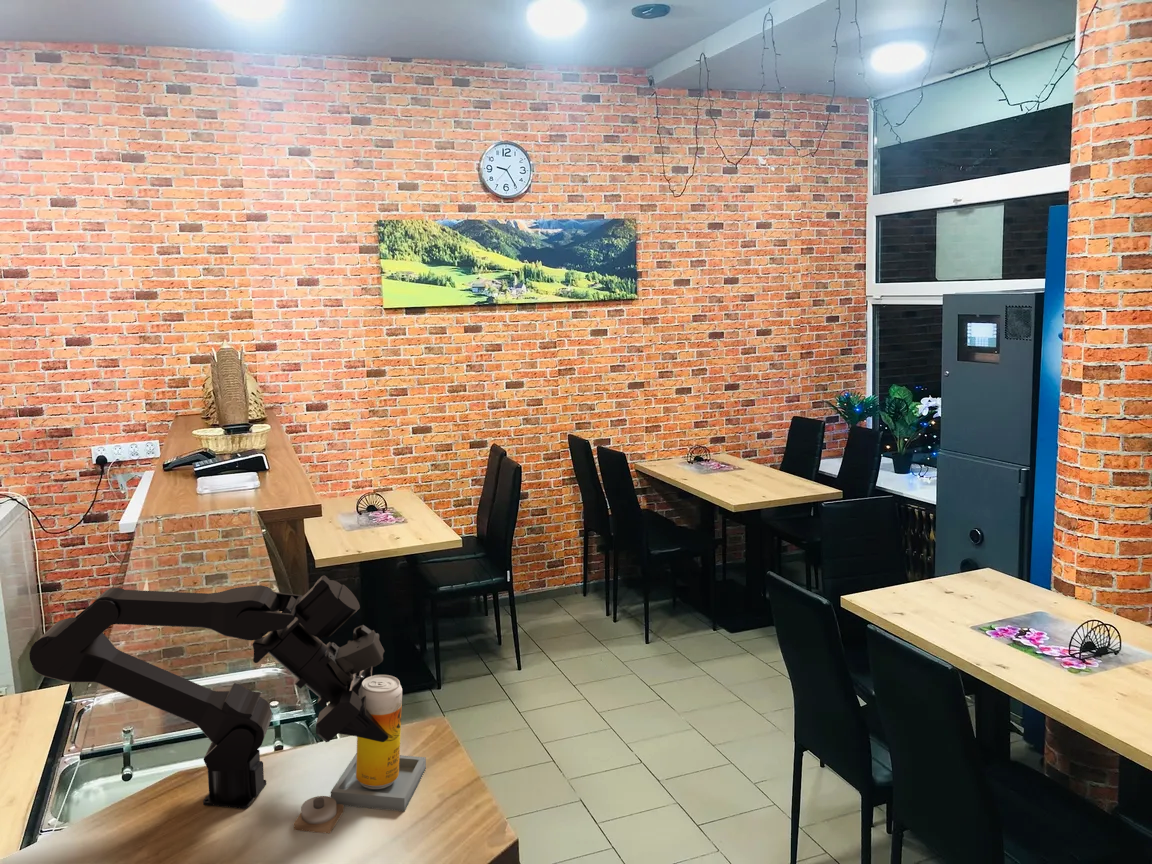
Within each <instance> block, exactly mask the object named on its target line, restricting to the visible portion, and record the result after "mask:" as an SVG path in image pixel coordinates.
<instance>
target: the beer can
mask: <svg viewBox="0 0 1152 864" xmlns="http://www.w3.org/2000/svg"><path fill="white" fill-rule="evenodd" d="M402 687H403V686H402V685H401V682H400V680H399V679H398V677H395V676H393V675H391V674H390V675H389V674H374V675H372V676H370V677H368V678H366V679H364V680H363V682H362V685H361V687H360V689H359V698H360V700H361V699H362V698H363V697H364V696H366V709H367V711H368V712H369V713H370V714H371V715H372V717H373V718H374V719H375V720H376V721H377V722H378V723H379V725H380V726H381V727H382V728H383V729H384V731H385V732H386V733H387V734H388V739H387V740H386V741H385V742H379V741H375V740H370V739H366V738H362V737H357V736H356V753H357V756H356V778H357V780H358V781H359V782H360V784H361V785H362V786H364V787H366V788H369V789H382V788H386V787H388V786H390V785H391V784H392V783H393V782H394V780H396V779H397V777H398V775H399V756H400V755H401V754H400V752H401V734H402V733H401V732H402V731H401V730H402V726H401V725H402V707H403V706H402V704H403V688H402Z"/></svg>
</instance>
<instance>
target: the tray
mask: <svg viewBox="0 0 1152 864" xmlns="http://www.w3.org/2000/svg"><path fill="white" fill-rule="evenodd" d="M356 756H357V752H356V753H355V754H354V756H353V757H352V759H351V761H349V763H348V765H347V767H346V768H345V769H344V771H343V773H342V775H341V776H340V777H339V778H338V780H337V782H336V783H335V784H334V785H333V788H332V789H331V791H330V797H331V798H333V799H334V800H335V801H336V804H342V805H344V807H350V808H351V807H353V808H365V809H374V810H375V809H376V810H387V811H396V812H397V811H398V812H399V811H400V812H406V810H407V808H408V806H409V804H410V802H411V800H412V797H414V793H415V792H416V790H417V788H418V786H419V784H420V781H421V780H422V778H423V776H424V774H425V772H426V770H425V769H427V763H426V762H427V758H426V757H425V756H415V755H414V756H413V755H405V754H404V755H403V754H400V756H399V775H398V777H397V779H396V780H394V782H393V783H392V784H391V785H390V786H388V787H386V788H382V789H369V788H366V787H364V786H362V785H361V784H360V782H359V781H358V780H357V778H356ZM424 771H425V772H424ZM423 773H424V774H423ZM422 775H423V776H422ZM421 777H422V778H421ZM420 779H421V780H420Z"/></svg>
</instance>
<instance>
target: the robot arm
mask: <svg viewBox="0 0 1152 864" xmlns="http://www.w3.org/2000/svg"><path fill="white" fill-rule="evenodd" d="M360 608H361V606H360V602H359V600H358V599H357V597H356V596H355V594H354V593H353V592H352V590H350V589H349V588H348V587H347V586H346V585H345V584H341V583H340V582H338V581H337V580H333V579H330V578H328V576H326V575H322V576H320V578H318V579H317V581H316V582H315V583H314V585H313V586H312V587H311V588H310V589H309V590H308V591H307V592H306V593H305V594H303V595H302V594H298V593H297V594H294V593H287V592H278V591H273V589H272V588H271V587H269V586H268V585H267V586H266V585H262V584H260V585H259V584H258V585H257V584H256V585H249V586H247V585H246V586H240V587H235V588H230V589H225V590H223V591H218V592H211V593H202V592H183V591H164V590H163V591H160V590H159V591H158V590H141V589H140V590H138V589H136V590H135V589H124V588H121V587H110V588H108V589H105V591H104V592H102V593H101V594H100V595H99V596H97V598H96V599H95V600H94V601H93V602H92V603H91V604H90V605H88V606H87V607H86V608H85V609H83V610H82V611H81V612H80V613H78V614H77V615H76V616H74V617H72V616H71V617H68V618H67V617H66V618H64V619H61V620H59V621H58V622H55V623H54V624H53V625H52V626H51V627H49V629H47V631H45V633H44V634H42V635H41V636H40V637H39V638H38V639H37V640H35V642H34V643H33V644H32V645H31V647H30V649H29V650H30V651H29V661H30V663H31V667H32V670H34V672H35V673H37V674H38V675H40V676H43V677H45V678H49V679H54V680H57V681H61V682H65V683H95V684H99V685H101V686H104V687H105V688H106V687H107V688H109V689H111V690H113V691H115V692H118V693H120V694H123V695H125V696H128V697H130V698H132V699H135V700H136V701H137V700H138V701H139V702H142V703H145V704H147V705H148V706H151V707H154V708H156V709H159V710H160V711H162V712H163V711H164V712H166V713H168V714H170V715H172V716H175V717H177V718H180V719H182V720H184V721H188V723H192V724H194V725H196V726H197V727H198V728H199V729H200V730H201V731H202V733H203V734H204V735H205V736H206V738H207V739H208V740H209V741H210V742H211V743H210V745H209V747H208V750H207V751H206V753H205V755H204V757H203V762H204V764H205V766H206V768H207V779H208V780H207V781H208V782H207V783H208V785H207V786H208V795H206V797H204V799H203V800H202V805H204V806H211V807H222V808H231V809H232V808H233V809H247V808H248V807H249V806H250V805H251V804H252V802H253V801H254V800H255V799H256V798H257V797H258V795H259V794H260V793H261V791H263V789H264V788H265V787H266V785H267V780H266V779H265V775H264V762H263V761H262V760H261V757H260V756H261V754H260V753H261V752H260V749H259V748H260V747H261V746H262V744H263V742H264V739H265V737H266V734H267V732H268V728H269V727H270V724H271V721H272V719H273V712H272V708H271V706H270V703H269V702H268V701H267V700H266V699H265V698H263V697H261V696H262V692H261V691H252V690H249V689H248V688H246V687H244V686H243V685H242V684H239V683H237V682H233V684H232V686H231V688H230V690H227V691H226V690H223V691H218V690H212V689H210V688H208V687H206V686H204V685H201V684H198V683H196V682H194V681H191V680H189V679H187V678H184V677H182V676H179V675H177V674H175V673H174V672H171V671H168V670H167V669H163V668H161V667H159V666H156V665H154V664H152V663H150V662H147V661H145V660H142V659H141V658H138V657H136V656H133V655H131V654H129V653H126V652H124V651H122V650H119V648H117V647H115V646H114V644H113V643H112V642H111V641H110V639H109V638H108V637H107V636H106V635H105V634H104V633H103V632H105V631H106V630H107V629H108V628H110V627H111V626H112V625H123V626H125V625H128V626H131V625H132V626H150V627H151V626H156V627H175V628H176V627H177V628H178V627H181V628H182V627H183V628H204V629H208V630H211V631H214V632H216V633H218V634H220V635H222V636H224V637H230V638H234V639H239V640H244V641H253V642H252V649H253V658H252V661H253V663H254V664H258V663H259V662H260V661H261V660H262V659H263V658H265V656H267V655H268V654H269V656H271V657H272V658H273V659H275V661H277V662H278V663H279V664H280V665H281V666H283V668H285V669H286V670H287V671H289V673H290V674H291V675H293V676H294V677H295V678H296V681H295V686H297V688H299V689H302V688H303V687H304V686H306V687H307V688H308V689H309V690H310V691H311V692H312V693H314V695H316V696H318V700H317V702H316V703H317V705H319V706H320V707H321V708H322V709H321V710H320V711H319V714H318V715H317V720H316V723H315V735H316V736H318V737H319V738H320V739H321V740H323V741H324V742H325V743H329V742H330V741H331V740H332V739H333V738H335V736H337V735H338V734H339V735H340V734H341V735H346V736H353V737H356V738H357V737H362V738H366V739H370V740H375V741H379V742H385V741H386V740H387V739H388V734H387V733H386V732H385V731H384V729H383V728H382V727H381V726H380V725H379V723H378V722H377V721H376V720H375V719H374V718H373V717H372V715H371V714H370V713H369V712H368V711H367V709H366V696H364V697H363V698H362V699H361V700H360V698H359V689H360V687H361V685H362V682H363V680H364V679H366V678H368V677H370V676H373V668H374V667H377V666H378V665H380V664H381V663H383V661H384V653H385V649H384V647H383V646H382V643H381V641H380V633H378V632H377V633H376V631H375V629H373V630H372V629H370V628H369V627H367V626H366V625H364V624H362V625H359V626H357V627H355V628H354V629H353V633H352V640H350V639H349V640H347V643H346V644H344V645H342V646H338V645H337V644H336V643H335V642H331V641H329V642H327V643H326V644H325V643H324V642H323V641H322V640H321V639H323V638H324V637H325V638H330V637H331V636H332V635H333V634H334V633H336V632H337V630H338V629H339V628H341V627H342V626H343V625H344V624H345V623H346V622H347V621H348V620H349V619H350V618H351V617H352V616H354V614H355V613H357V611H358V610H360Z"/></svg>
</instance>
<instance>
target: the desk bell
mask: <svg viewBox="0 0 1152 864" xmlns="http://www.w3.org/2000/svg"><path fill="white" fill-rule="evenodd" d="M344 808H345V806H344V805H342V804H336V801H335V800H334V799H333V798H331V796H327V795H317V796H314V797H311V798H309V799H307V800H306V801H304V802H303V803H302V804H301V806H300V812H299V813H300V814H299V815H298V816H297V818H296V819H295V821H294V822H293V830H294V831H300V832H307V833H308V832H309V833H310V832H312V833H320V834H331V833H332V831H333V830H334V828H335V827H336V825H337V823H338V821H339V819H341V817H342V815H343V813H344V812H345V811H344V810H345V809H344Z"/></svg>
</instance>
